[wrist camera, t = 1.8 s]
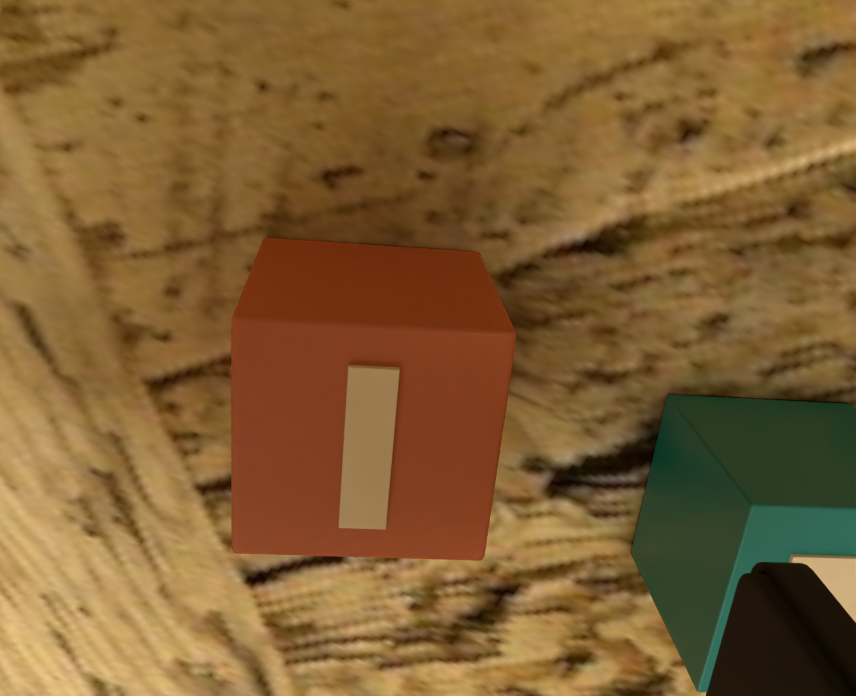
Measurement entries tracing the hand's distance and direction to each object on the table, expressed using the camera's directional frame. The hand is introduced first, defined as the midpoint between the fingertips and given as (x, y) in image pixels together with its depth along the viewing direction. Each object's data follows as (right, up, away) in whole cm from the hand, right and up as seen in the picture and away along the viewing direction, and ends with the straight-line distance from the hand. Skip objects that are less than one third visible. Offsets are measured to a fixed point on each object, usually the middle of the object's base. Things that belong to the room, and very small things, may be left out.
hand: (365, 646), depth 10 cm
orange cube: (-1, +4, +7) cm, 8 cm away
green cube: (+8, 0, +10) cm, 12 cm away
